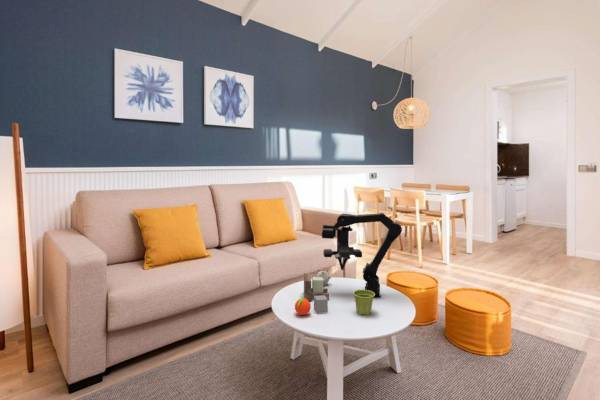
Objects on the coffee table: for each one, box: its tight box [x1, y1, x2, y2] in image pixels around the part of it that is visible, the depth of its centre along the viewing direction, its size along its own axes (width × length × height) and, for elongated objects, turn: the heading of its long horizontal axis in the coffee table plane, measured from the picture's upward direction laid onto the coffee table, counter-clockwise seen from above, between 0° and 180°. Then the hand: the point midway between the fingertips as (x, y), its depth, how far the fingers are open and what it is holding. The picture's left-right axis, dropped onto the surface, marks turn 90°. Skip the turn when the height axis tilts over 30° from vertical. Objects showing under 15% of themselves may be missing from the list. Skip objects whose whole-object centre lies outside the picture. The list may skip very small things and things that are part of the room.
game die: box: [316, 269, 332, 287], centre depth 195 cm, size 9×8×10 cm
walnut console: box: [303, 272, 330, 303], centre depth 177 cm, size 12×12×10 cm
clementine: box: [294, 297, 312, 316], centre depth 156 cm, size 8×7×7 cm
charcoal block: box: [313, 295, 329, 314], centre depth 160 cm, size 5×5×6 cm
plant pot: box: [352, 289, 375, 316], centre depth 159 cm, size 9×9×9 cm
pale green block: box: [311, 276, 324, 293], centre depth 177 cm, size 5×5×9 cm
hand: (342, 270), depth 181 cm, fingers closed
